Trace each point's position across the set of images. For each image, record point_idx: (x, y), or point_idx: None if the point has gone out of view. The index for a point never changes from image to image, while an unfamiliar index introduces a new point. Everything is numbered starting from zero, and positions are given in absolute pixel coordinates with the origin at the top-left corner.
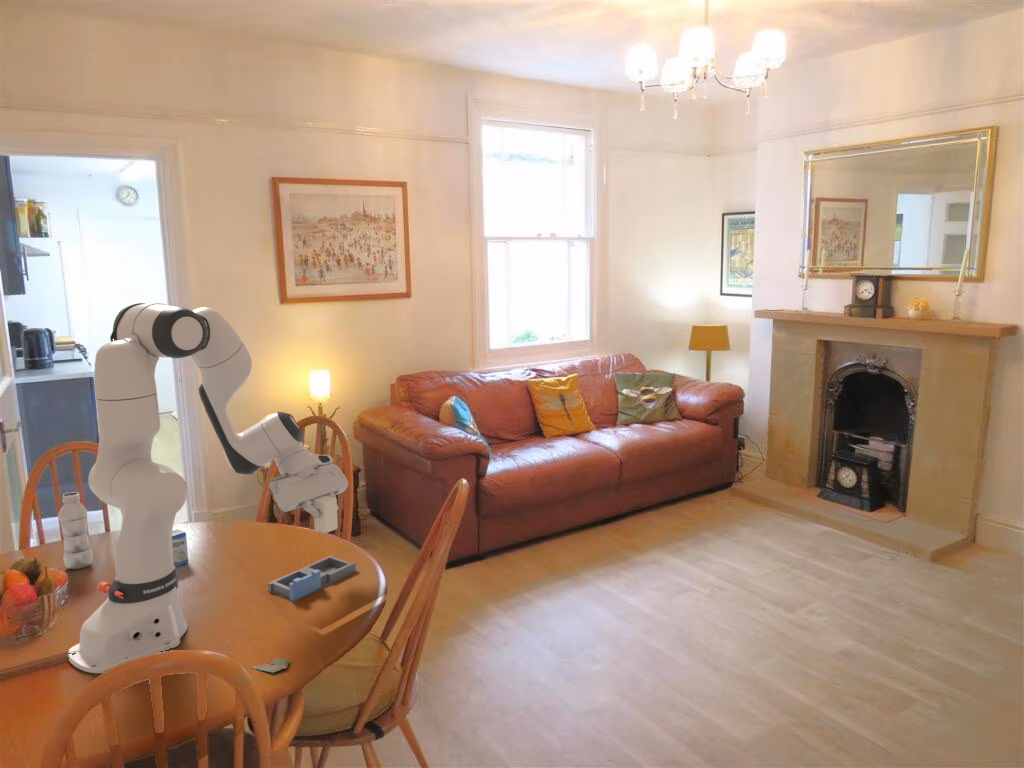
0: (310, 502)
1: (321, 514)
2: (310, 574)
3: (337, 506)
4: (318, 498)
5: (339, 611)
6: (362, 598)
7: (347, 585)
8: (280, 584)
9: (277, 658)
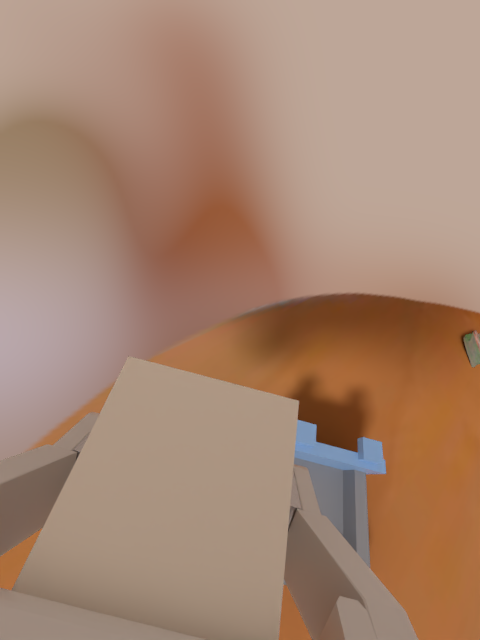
0: (355, 633)
1: None
2: (311, 450)
3: (92, 417)
4: (197, 613)
5: (319, 349)
6: (259, 335)
7: None
8: (360, 542)
9: (470, 360)
